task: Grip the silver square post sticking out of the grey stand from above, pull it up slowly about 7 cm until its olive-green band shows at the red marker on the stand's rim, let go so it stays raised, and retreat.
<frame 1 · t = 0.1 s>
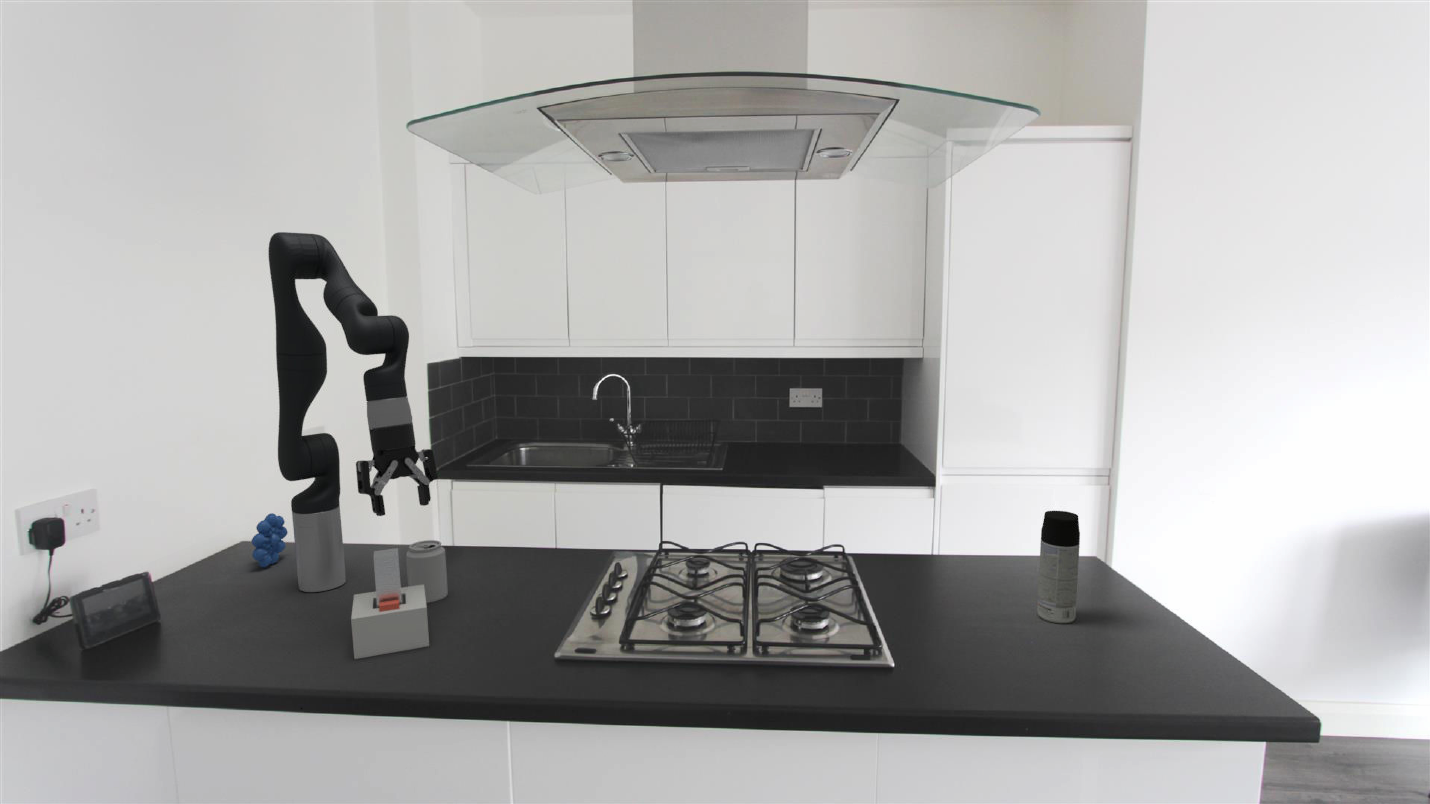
hand: (403, 510, 143), 23 cm above the worktop, tool pointing down, fingers open, 8 cm apart
stand base: (392, 643, 139), on the worktop
grapes: (268, 564, 183), on the worktop
can: (429, 601, 159), on the worktop
column: (389, 596, 138), point 9 cm above the worktop, slide at 0.0 cm
spray can: (1056, 618, 146), on the worktop
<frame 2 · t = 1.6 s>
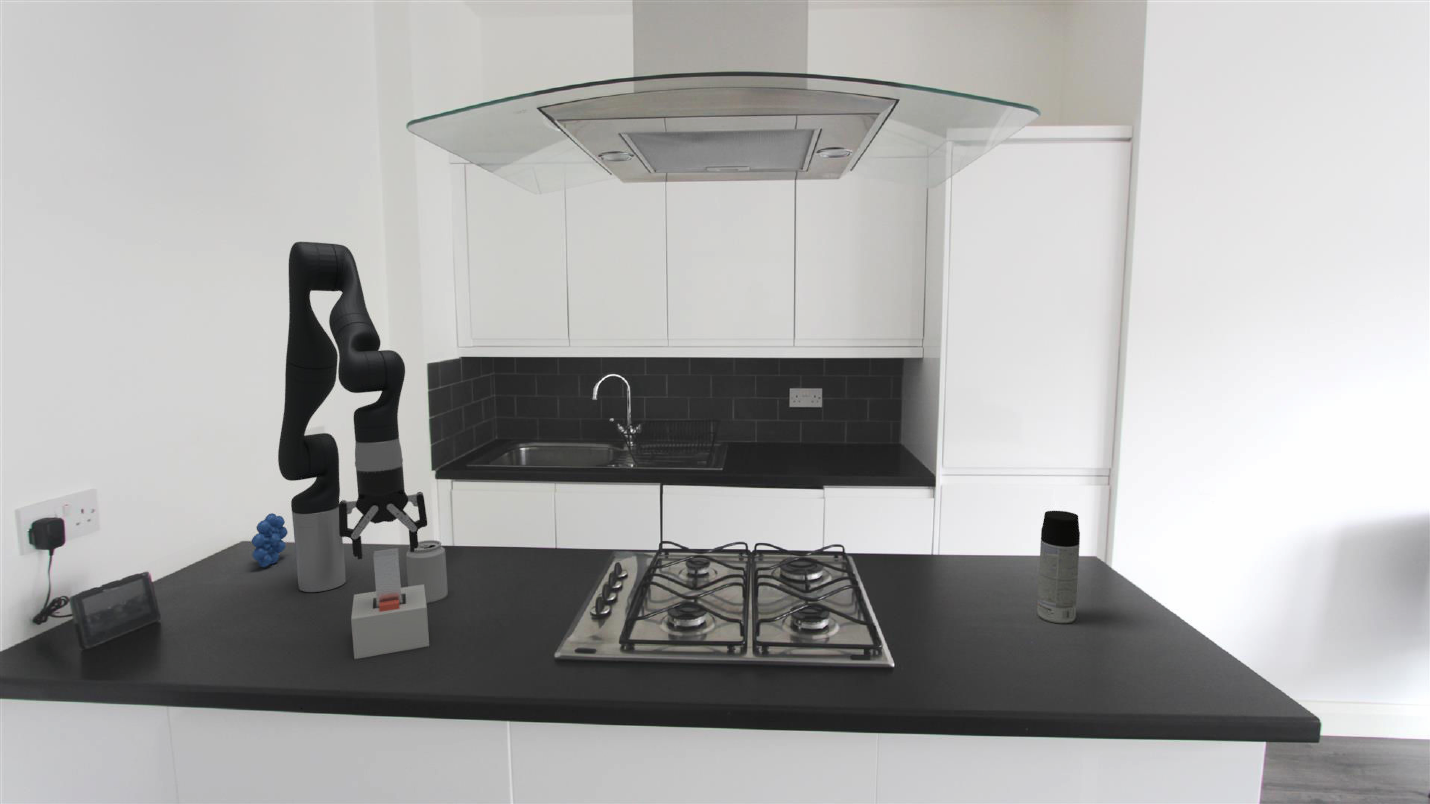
hand: (386, 554, 137), 17 cm above the worktop, tool pointing down, fingers open, 8 cm apart
nothing on the worktop moved.
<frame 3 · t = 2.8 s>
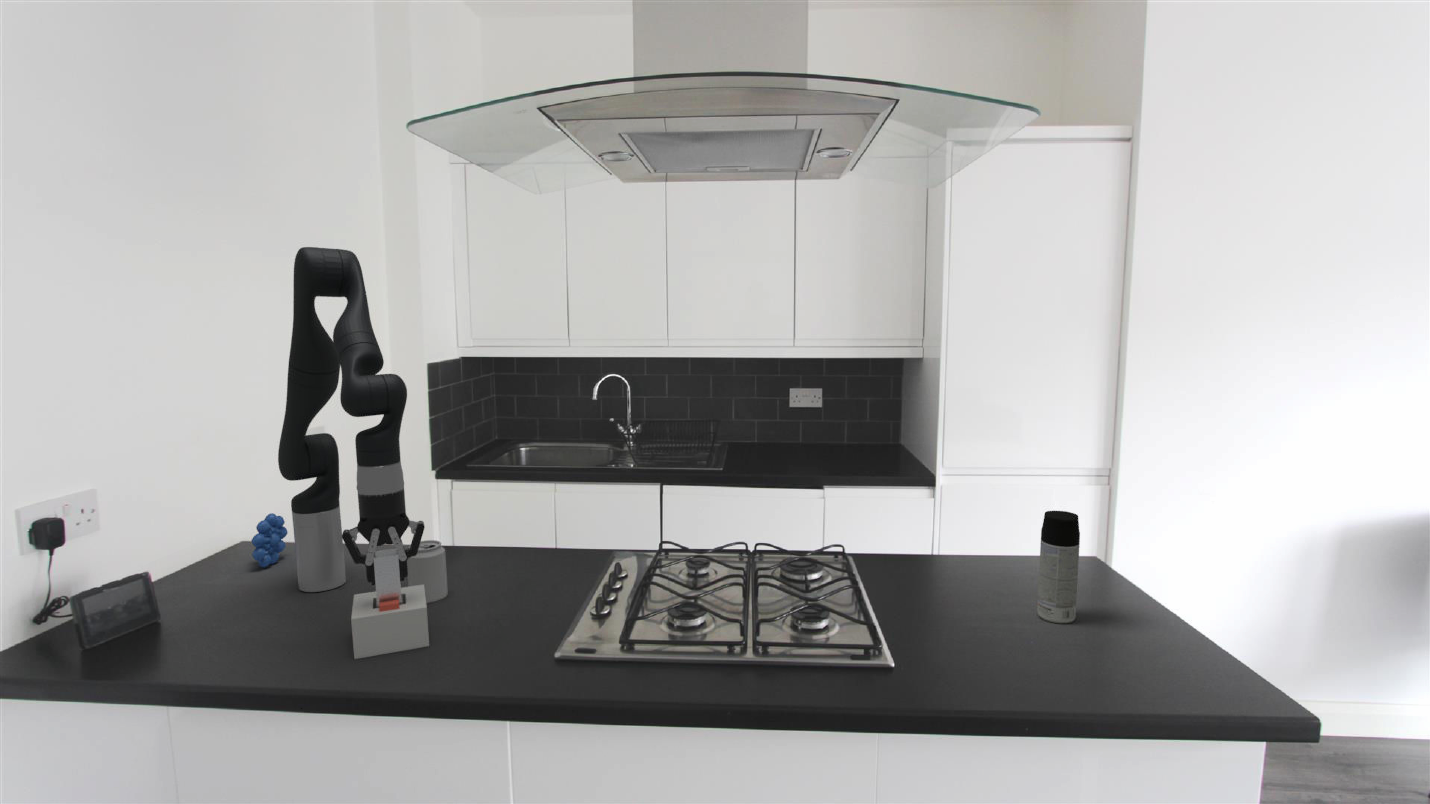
hand: (387, 581, 138), 12 cm above the worktop, tool pointing down, fingers closed on column, 4 cm apart
column: (389, 596, 138), point 9 cm above the worktop, slide at 0.0 cm, touching gripper
everything else where it was.
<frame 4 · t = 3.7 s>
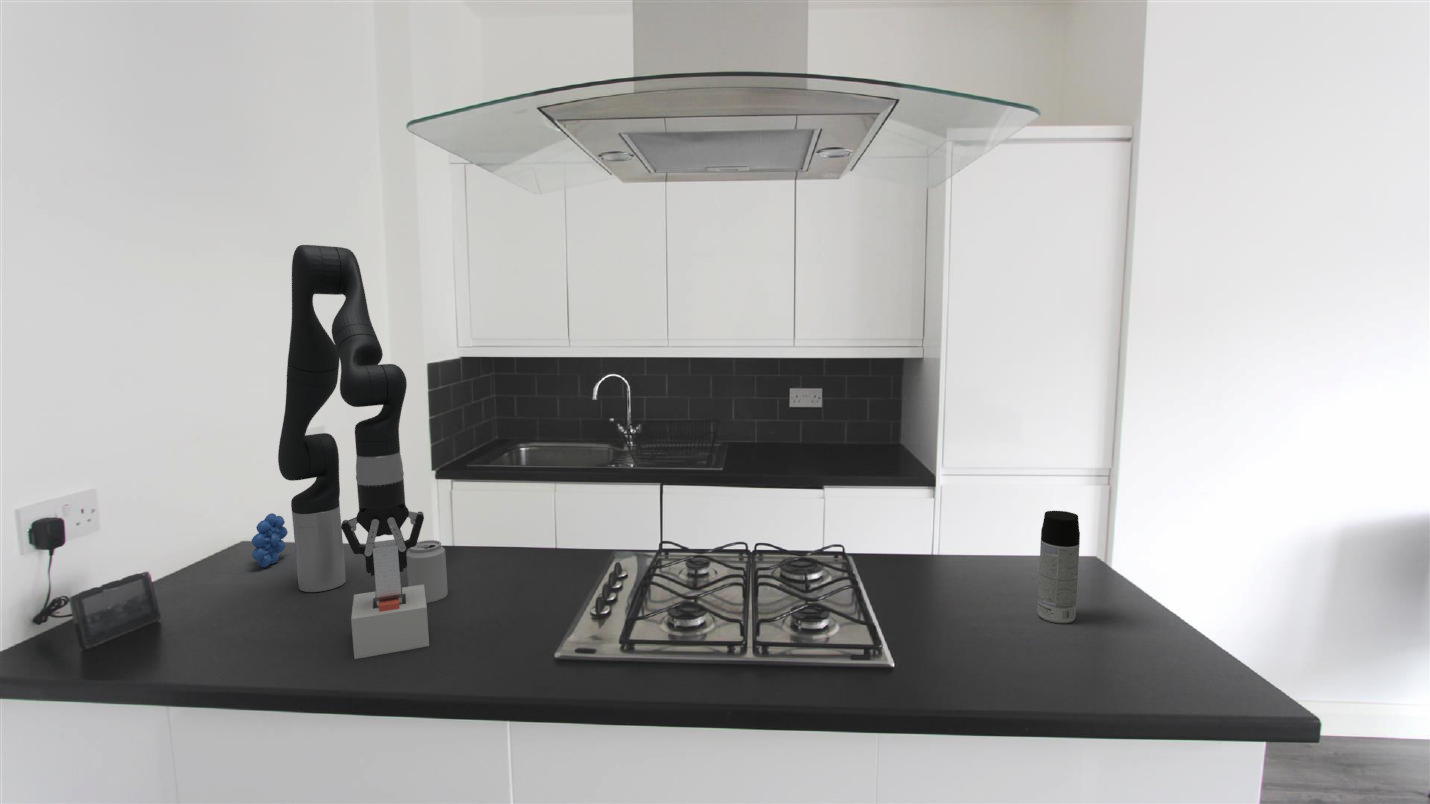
hand: (387, 572, 137), 13 cm above the worktop, tool pointing down, fingers closed on column, 4 cm apart
column: (388, 587, 138), point 11 cm above the worktop, slide at 1.7 cm, touching gripper
everything else where it was.
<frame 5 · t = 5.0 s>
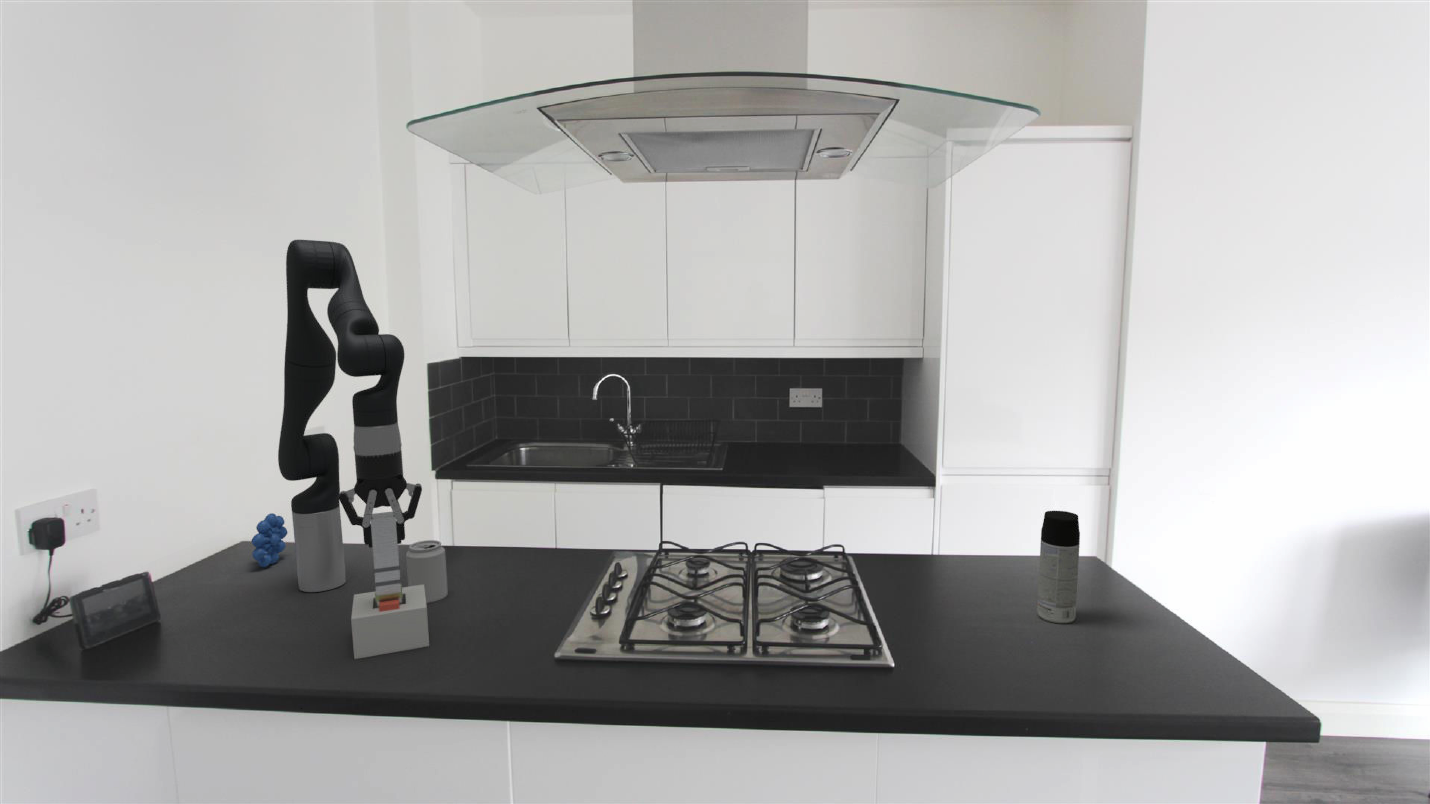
hand: (385, 544, 137), 19 cm above the worktop, tool pointing down, fingers closed on column, 4 cm apart
column: (386, 559, 137), point 16 cm above the worktop, slide at 6.9 cm, touching gripper
everything else where it was.
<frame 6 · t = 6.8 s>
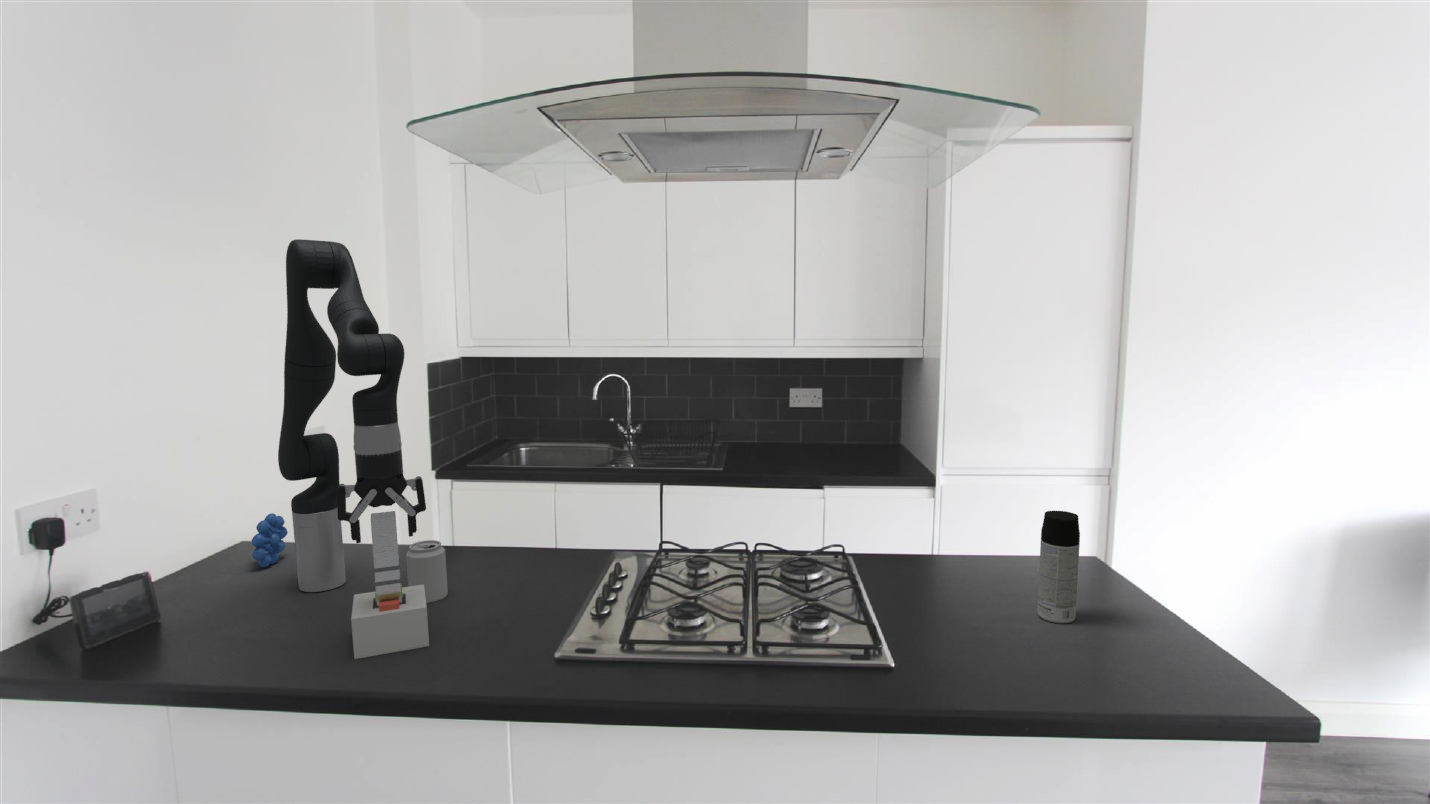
hand: (384, 538, 137), 20 cm above the worktop, tool pointing down, fingers open, 8 cm apart
column: (386, 558, 137), point 16 cm above the worktop, slide at 6.9 cm
everything else where it was.
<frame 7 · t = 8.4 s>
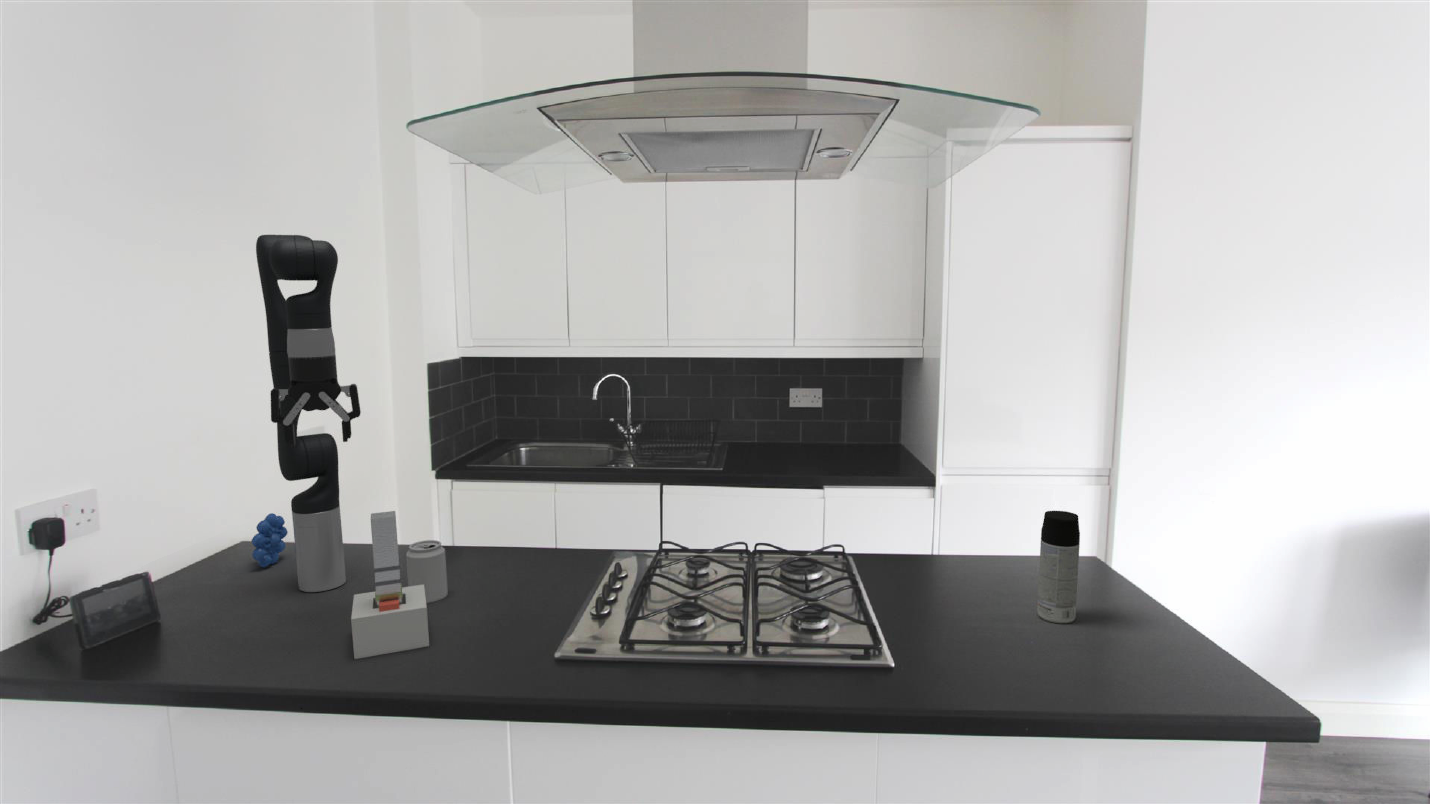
hand: (319, 443, 140), 36 cm above the worktop, tool pointing down, fingers open, 8 cm apart
nothing on the worktop moved.
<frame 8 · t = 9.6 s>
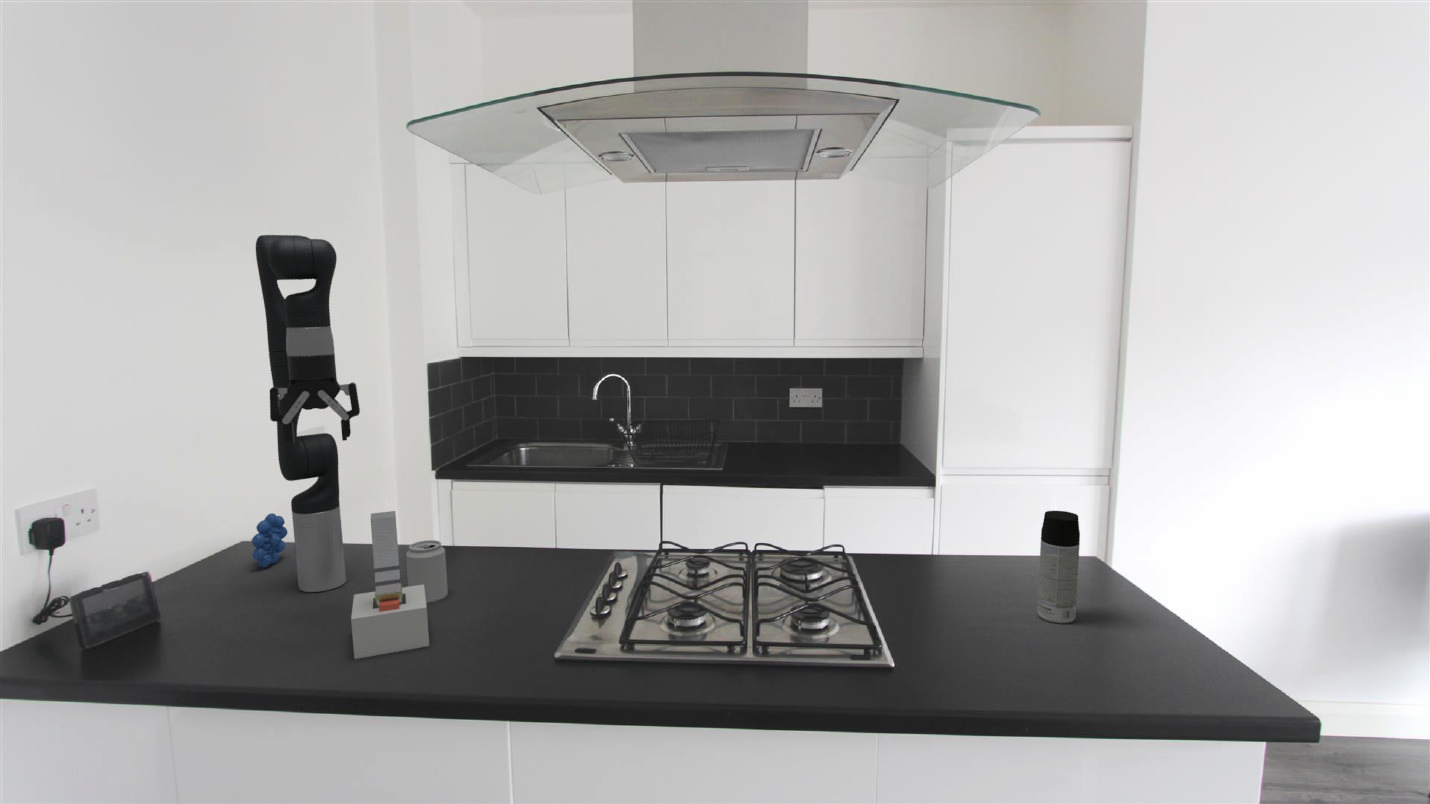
hand: (318, 442, 140), 36 cm above the worktop, tool pointing down, fingers open, 8 cm apart
nothing on the worktop moved.
at the end: column slide at 6.9 cm; the gripper is holding nothing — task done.
